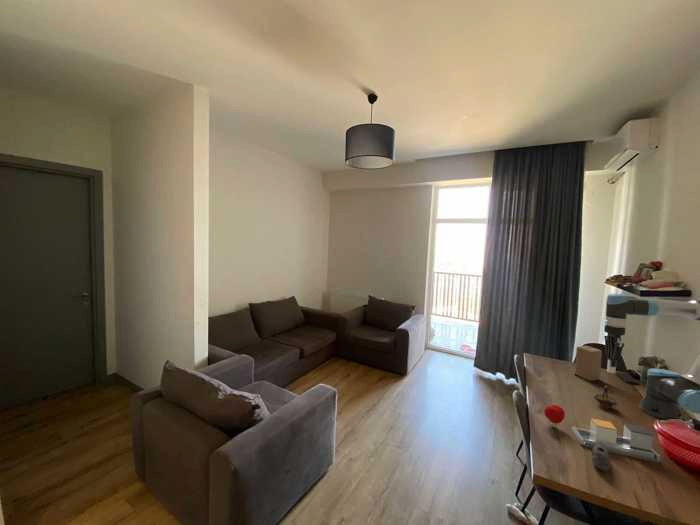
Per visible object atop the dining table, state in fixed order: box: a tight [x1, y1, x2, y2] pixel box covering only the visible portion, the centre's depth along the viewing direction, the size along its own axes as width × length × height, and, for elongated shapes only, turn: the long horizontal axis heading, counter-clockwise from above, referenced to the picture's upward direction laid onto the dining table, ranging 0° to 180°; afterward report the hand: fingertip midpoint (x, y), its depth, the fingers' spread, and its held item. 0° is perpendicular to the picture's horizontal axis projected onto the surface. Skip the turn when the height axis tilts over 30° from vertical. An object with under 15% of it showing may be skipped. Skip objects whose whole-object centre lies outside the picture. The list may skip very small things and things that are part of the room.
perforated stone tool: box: [591, 442, 611, 473], centre depth 113 cm, size 15×5×7 cm, turn 138°
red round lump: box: [543, 404, 566, 428], centre depth 135 cm, size 9×7×10 cm
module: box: [589, 418, 618, 445], centre depth 124 cm, size 7×6×8 cm
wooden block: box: [574, 345, 603, 382], centre depth 190 cm, size 10×10×20 cm
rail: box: [571, 423, 661, 464], centre depth 123 cm, size 26×10×10 cm, turn 70°
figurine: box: [593, 384, 619, 410], centre depth 154 cm, size 10×8×12 cm
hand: (611, 372), depth 142 cm, fingers closed
